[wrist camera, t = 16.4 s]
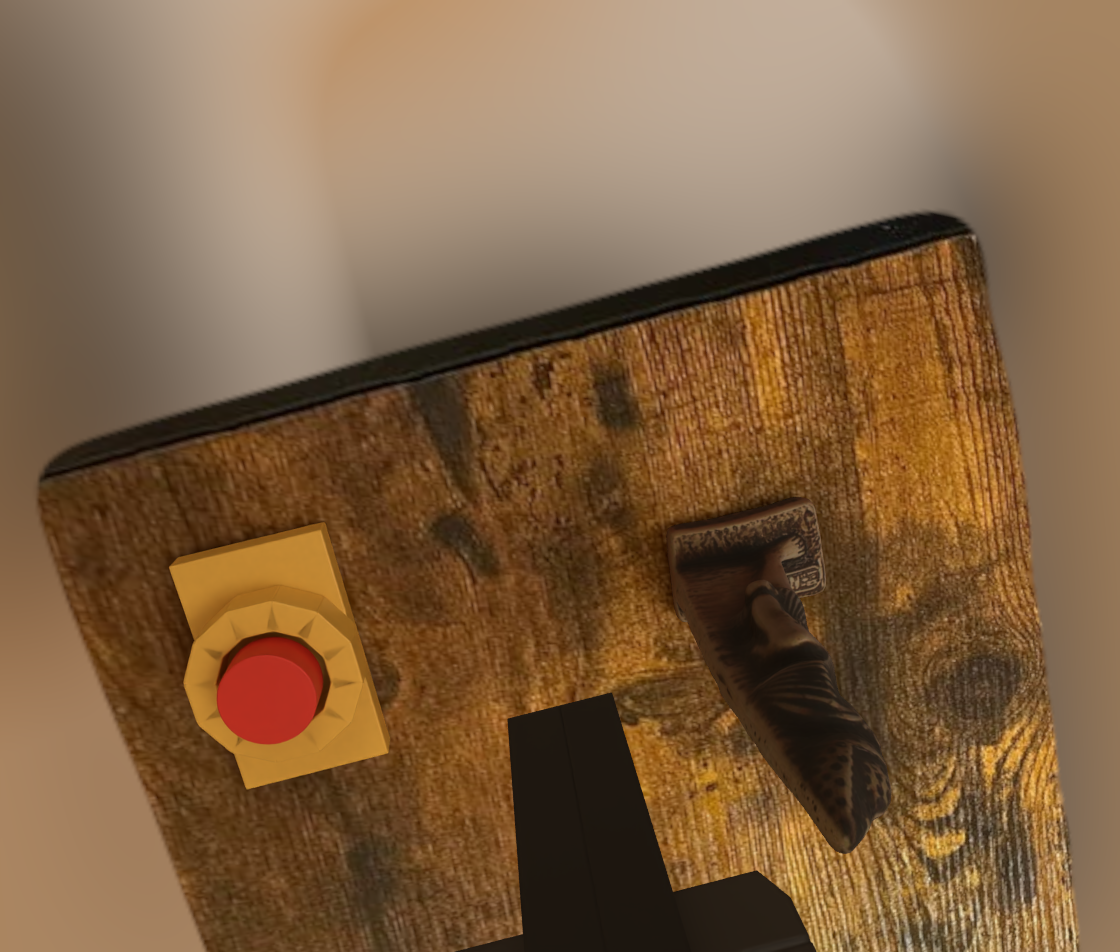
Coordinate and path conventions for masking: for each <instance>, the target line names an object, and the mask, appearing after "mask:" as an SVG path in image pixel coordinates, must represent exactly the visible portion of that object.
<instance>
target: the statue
mask: <svg viewBox="0 0 1120 952" xmlns="http://www.w3.org/2000/svg"><path fill="white" fill-rule="evenodd" d="M666 538H667V551H668V561H669V569H670V576H671V585H672V594H673V601H674V608H675V611H676V615H677V617H678V618H679V619H680V620H681V621H683V622H688V624H689V626H690V629H691V632H692V634H693V636H694V638H695V640H696V642H697V644H698V647H699V649H700V650H701V652H702V654H703V657H704V660H705V662H706V664H707V665H708V667H709V669H710V672H711V674H712V676H713V678H714V679H715V681H716V683H717V684H718V687H719V690H720V692H721V694H722V696H723V698H724V699H725V701H726V702H727V704H728V705H729V707H730V708H731V709H732V711H733V712H734V713H735V715H736V716H737V717H738V718H739V720H740V722H741V723H742V725H743V727H744V728H745V730H746V732H747V733H748V735H749V736H750V737H751V739H752V740H753V741H754V743H755V744H756V746H757V747H758V749H759V751H760V753H761V754H762V756H763V757H764V758H765V760H766V761H767V762H768V764H769V765H770V766H771V768H772V769H773V770H774V771H775V773H776V774H777V775H778V776H779V778H780V779H781V780H782V781H783V783H784V784H785V785H786V786H787V787H788V788H789V790H790V791H791V792H792V793H793V794H794V796H795V797H796V798H797V800H798V801H799V802H800V803H801V805H802V806H803V807H804V809H805V810H806V811H807V813H808V814H809V816H810V817H811V819H812V820H813V822H814V823H815V824H816V826H817V827H818V829H819V830H820V832H821V833H822V835H823V836H824V837H825V839H826V840H827V842H828V843H829V845H830V846H831V847H832V848H833V849H834V850H836V851H837V852H839V853H843V854H847V853H850V852H852V851H853V850H854V848H855V847H856V846H857V845H858V844H859V843H860V842H861V840H862V839H863V838H864V837H865V835H866V833H867V832H868V830H869V828H870V826H871V823H872V821H873V820H874V819H876V818H878V817H879V816H881V815H883V814H884V813H885V812H886V811H887V809H888V807H889V804H890V801H891V786H890V781H889V777H888V773H887V766H886V763H885V761H884V759H883V756H882V753H881V746H880V744H879V742H878V740H877V737H876V736H875V734H874V732H873V731H872V730H871V729H870V727H869V726H868V725H867V724H866V722H865V721H864V720H863V718H862V717H861V716H860V715H859V714H858V712H857V711H856V710H855V709H854V708H853V707H852V705H851V704H849V703H848V702H847V701H846V700H845V699H844V698H842V697H841V696H840V694H839V692H838V687H837V682H836V676H835V670H834V666H833V662H832V659H831V657H830V655H829V653H828V651H827V650H826V649H825V648H824V647H823V646H822V644H821V643H820V642H819V641H818V640H817V639H816V638H815V637H814V636H813V635H812V634H811V633H810V632H809V630H808V627H807V622H806V616H805V611H804V607H803V604H802V602H801V600H800V599H799V598H800V597H806V596H812V595H815V594H818V593H820V592H822V591H823V590H824V588H825V584H826V575H825V565H824V559H823V553H822V546H821V537H820V532H819V526H818V521H817V515H816V509H815V507H814V505H813V503H812V502H811V501H810V500H808V499H806V498H801V497H793V498H789V499H785V500H782V501H779V502H776V503H773V504H770V505H767V506H763V507H759V508H755V509H751V510H746V511H742V512H737V513H733V514H729V515H725V516H721V517H718V518H713V519H708V520H702V521H696V522H690V523H683V524H678V525H674V526H672V527H670V528H668V530H667V535H666Z"/></svg>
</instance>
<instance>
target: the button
mask: <svg viewBox="0 0 1120 952" xmlns="http://www.w3.org/2000/svg"><path fill="white" fill-rule="evenodd" d="M322 688H323V674H322V670H321V667H320V664H319V662H318V661H317V659H316V658H315V656H314V655H313V654H312V653H311V652H310V651H309V650H308V649H307V648H306V647H304V646H303V645H301V644H300V643H298V642H296V641H293V640H290V639H287V638H282V637H267V638H261V639H258V640H255V641H253V642H251V643H249V644H247V645H246V646H244V647H243V648H242V649H241V650H239V652H238V653H237V654H236V655H235V656H234V658H233V659H232V661H231V663H230V665H229V666H228V668H227V670H226V672H225V674H224V676H223V677H222V679H221V681H220V683H219V686H218V690H217V707H218V711H219V714H220V716H221V718H222V720H223V722H224V723H225V724H226V726H227V727H228V728H229V729H230V730H231V731H232V732H233V733H235V734H236V735H237V736H239V737H241V738H242V739H244V740H247V741H249V742H253V743H257V744H267V745H269V744H278V743H282V742H285V741H288V740H290V739H292V738H294V737H296V736H298V735H299V734H300V733H301V732H303V731H304V730H305V729H306V728H307V727H308V725H309V724H310V722H311V721H312V719H313V717H314V714H315V712H316V708H317V705H318V702H319V699H320V695H321V692H322Z"/></svg>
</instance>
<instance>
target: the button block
mask: <svg viewBox="0 0 1120 952" xmlns="http://www.w3.org/2000/svg"><path fill="white" fill-rule="evenodd" d="M169 569H170V572H171V575H172V578H173V581H174V583H175V586H176V589H177V592H178V595H179V598H180V601H181V603H182V606H183V609H184V612H185V615H186V618H187V621H188V624H189V626H190V629H191V632H192V635H193V638H194V643H193V645H192V649H191V653H190V657H189V661H188V665H187V669H186V673H185V677H184V681H183V684H184V688H185V690H186V693H187V696H188V699H189V702H190V704H191V707H192V710H193V713H194V716H195V718H196V721H197V723H198V725H199V726H200V727H201V728H202V729H203V730H205V731H206V732H207V733H208V734H209V735H211V736H212V737H213V738H214V739H215V740H217V741H218V742H219V743H220V744H221V745H223V746H224V747H225V748H226V749H227V750H229V751H230V752H232V753H234V755H235V758H236V761H237V764H238V767H239V769H240V772H241V775H242V778H243V781H244V784H245V787H246V789H250V788H254V787H258V786H262V785H266V784H270V783H274V782H278V781H282V780H286V779H290V778H293V777H297V776H301V775H305V774H309V773H313V772H317V771H321V770H325V769H329V768H333V767H336V766H340V765H344V764H348V763H352V762H356V761H360V760H364V759H368V758H372V757H376V756H379V755H383V754H387V753H388V751H389V744H390V736H389V733H388V730H387V726H386V723H385V720H384V716H383V713H382V710H381V706H380V703H379V700H378V697H377V693H376V690H375V687H374V683H373V680H372V677H371V673H370V670H369V667H368V663H367V660H366V657H365V653H364V650H363V647H362V643H361V640H360V637H359V633H358V630H357V627H356V623H355V620H354V617H353V613H352V610H351V607H350V603H349V600H348V597H347V593H346V590H345V587H344V584H343V580H342V577H341V574H340V570H339V567H338V564H337V560H336V557H335V554H334V550H333V547H332V544H331V540H330V537H329V534H328V530H327V527H326V524H325V522H321V523H317V524H313V525H309V526H305V527H301V528H297V529H292V530H288V531H284V532H280V533H276V534H272V535H268V536H264V537H260V538H255V539H251V540H247V541H243V542H239V543H235V544H231V545H227V546H223V547H218V548H214V549H210V550H206V551H202V552H198V553H194V554H190V555H186V556H182V557H178V558H177V559H176V560H175V561H174V562H173V563H172V564H171V565H170V566H169ZM267 637H282V638H287V639H290V640H293V641H296V642H298V643H300V644H301V645H303V646H304V647H306V648H307V649H308V650H309V651H310V652H311V653H312V654H313V655H314V656H315V658H316V659H317V661H318V662H319V664H320V667H321V670H322V674H323V688H322V692H321V695H320V699H319V702H318V705H317V708H316V712H315V714H314V717H313V719H312V721H311V722H310V724H309V725H308V727H307V728H306V729H305V730H304V731H303V732H301V733H300V734H299V735H298V736H296V737H294V738H292V739H290V740H288V741H285V742H282V743H278V744H269V745H267V744H257V743H253V742H249V741H247V740H244V739H242V738H241V737H239V736H237V735H236V734H235V733H233V732H232V731H231V730H230V729H229V728H228V727H227V726H226V724H225V723H224V722H223V720H222V718H221V716H220V714H219V711H218V707H217V690H218V686H219V683H220V681H221V679H222V677H223V676H224V674H225V672H226V670H227V668H228V666H229V665H230V663H231V661H232V659H233V658H234V656H235V655H236V654H237V653H238V652H239V650H241V649H242V648H243V647H244V646H246V645H247V644H249V643H251V642H253V641H255V640H258V639H261V638H267Z"/></svg>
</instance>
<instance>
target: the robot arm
mask: <svg viewBox="0 0 1120 952" xmlns="http://www.w3.org/2000/svg"><path fill="white" fill-rule="evenodd" d="M508 733H509V746H510V760H511V774H512V788H513V802H514V815H515V829H516V843H517V857H518V870H519V884H520V898H521V912H522V926H523V934H522V935H518V936H514V937H510V938H506V939H502V940H499V941H495V942H491V943H487V944H483V945H479V946H475V947H471V948H468V949H464V950H460V951H456V952H816V950H815V947H814V945H813V943H811V942H810V939H809V935H808V933H807V931H806V929H805V927H804V925H803V923H802V920H801V918H800V916H799V914H798V912H797V910H796V908H795V906H794V904H793V902H792V900H791V898H790V897H789V896H788V895H787V894H786V893H784V892H783V891H782V890H781V889H779V888H778V887H777V886H776V885H774V884H773V883H772V882H771V881H769V880H768V879H767V878H766V877H764V876H763V875H762V874H761V873H759V872H758V871H753V872H749V873H745V874H741V875H737V876H733V877H730V878H726V879H722V880H718V881H714V882H710V883H706V884H702V885H699V886H695V887H691V888H687V889H683V890H679V891H675V892H673V891H672V887H671V884H670V881H669V878H668V874H667V871H666V868H665V865H664V861H663V858H662V855H661V851H660V848H659V845H658V842H657V838H656V835H655V832H654V829H653V825H652V822H651V819H650V816H649V812H648V809H647V806H646V803H645V799H644V796H643V793H642V789H641V786H640V783H639V780H638V776H637V773H636V770H635V767H634V763H633V760H632V757H631V754H630V750H629V747H628V744H627V740H626V737H625V734H624V731H623V727H622V724H621V721H620V718H619V714H618V711H617V708H616V705H615V701H614V698H613V695H612V693H608V694H604V695H600V696H596V697H592V698H588V699H584V700H580V701H576V702H572V703H568V704H564V705H560V706H556V707H552V708H548V709H544V710H540V711H536V712H532V713H528V714H524V715H520V716H516V717H512V718H508Z"/></svg>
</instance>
